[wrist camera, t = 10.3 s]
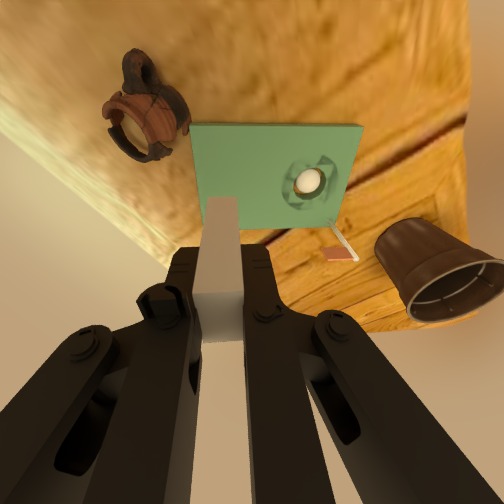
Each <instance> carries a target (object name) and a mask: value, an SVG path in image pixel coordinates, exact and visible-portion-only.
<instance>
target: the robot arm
mask: <svg viewBox="0 0 504 504" xmlns="http://www.w3.org/2000/svg"><path fill="white" fill-rule="evenodd" d="M170 265H171V266H170V267H169V271H168V274H167V277H166V280H165V282H164V283H158V284H156V285H153V286H151V287H149V288H147V289H146V290H145V291H144V292H143V293H141V294H140V296H139V297H138V299H137V300H136V303H137V305H138V307H139V309H140V311H141V313H142V315H143V317H144V320H142V321H140V322H138V323H136V324H133V325H131V326H128V327H124V328H122V329H118V330H115V331H112V332H111V331H110V329H109V328H108V327H106V326H103V325H91V326H88V327H85V328H82V329H80V330H78V331H76V332H75V333H73V334H71V335H70V336H69V337H68V338H67V339H66V340H65V341H63V342H62V343H61V344H60V345H59V346H58V348H57V349H56V350H55V351H54V352H53V353H52V354H51V355H50V357H49V358H48V359H47V360H46V361H45V363H43V365H42V366H41V367H40V368H39V369H38V370H37V371H36V372H35V374H34V375H33V376H32V377H31V378H30V379H29V381H28V382H27V383H26V384H25V385H24V386H23V387H22V389H20V391H19V392H18V393H17V394H16V395H15V396H14V397H13V398H12V400H11V401H10V402H9V403H8V404H7V405H6V406H5V408H4V409H3V410H2V411H1V412H0V504H190V494H191V483H192V471H193V459H194V448H195V436H196V426H197V414H198V403H199V391H200V380H201V369H202V354H201V342H202V340H203V343H212V342H226V341H240V340H243V341H244V367H245V384H246V402H247V420H248V439H249V455H250V456H249V457H250V474H251V493H252V504H336V503H335V499H334V495H333V491H332V487H331V483H330V479H329V475H328V471H327V467H326V463H325V459H324V455H323V451H322V447H321V443H320V439H319V435H318V431H317V428H316V423H315V419H314V415H313V411H312V407H311V403H310V400H309V395H308V392H307V388H308V390H309V392H310V394H311V396H312V398H313V400H314V402H315V404H316V406H317V408H318V411H319V413H320V415H321V416H322V419H323V421H324V423H325V425H326V427H327V429H328V431H329V433H330V435H331V438H332V440H333V442H334V444H335V446H336V448H337V450H338V452H339V454H340V456H341V458H342V461H343V462H344V465H345V467H346V469H347V471H348V473H349V475H350V477H351V479H352V481H353V483H354V485H355V488H356V490H357V492H358V494H359V496H360V498H361V500H362V502H363V504H504V503H503V502H502V500H501V499H500V498H499V497H498V495H497V494H496V493H495V492H494V491H493V489H492V488H491V487H490V486H489V484H488V483H487V482H486V481H485V479H484V478H483V477H482V476H481V475H480V473H479V472H478V471H477V470H476V468H475V467H474V466H473V465H472V463H471V462H470V461H469V460H468V458H467V457H466V456H465V455H464V453H463V452H462V451H461V450H460V449H459V447H458V446H457V445H456V444H455V443H454V441H453V440H452V439H451V437H450V436H449V435H448V434H447V432H446V431H445V430H444V429H443V427H442V426H441V425H440V424H439V423H438V421H437V420H436V419H435V418H434V416H433V415H432V414H431V413H430V412H429V410H428V409H427V408H426V407H425V405H424V404H423V403H422V402H421V400H420V399H419V398H418V397H417V395H416V394H415V393H414V392H413V390H412V389H411V388H410V387H409V386H408V384H407V383H406V382H405V381H404V379H403V378H402V377H401V376H400V375H399V373H398V372H397V371H396V369H395V368H394V367H393V366H392V365H391V363H390V362H389V361H388V360H387V358H386V357H385V356H384V355H383V353H382V352H381V351H380V350H379V349H378V347H377V346H376V345H375V344H374V342H373V341H372V340H371V339H370V337H369V336H368V335H367V334H366V332H365V331H364V330H363V329H362V327H361V326H360V325H359V324H358V323H357V322H356V321H355V320H354V319H353V318H352V317H351V316H350V315H348V314H346V313H344V312H342V311H338V310H325V311H323V312H321V313H319V314H318V316H317V317H314V316H310V315H306V314H301V313H298V312H295V311H293V310H291V309H289V308H288V307H287V306H286V305H285V304H284V303H283V302H282V301H281V299H280V296H279V293H278V289H277V284H276V280H275V276H274V272H273V268H272V263H271V259H270V255H269V251H268V250H267V249H266V247H265V246H264V245H263V244H241V245H240V233H239V220H238V207H237V197H208V200H207V206H206V212H205V218H204V224H203V230H202V237H201V243H200V247H180V249H179V250H178V251H177V252H176V253H175V254H174V255H173V258H172V261H171V264H170ZM305 383H306V384H305ZM306 386H307V387H306Z"/></svg>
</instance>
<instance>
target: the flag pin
mask: <svg viewBox="0 0 504 504" xmlns="http://www.w3.org/2000/svg"><path fill="white" fill-rule="evenodd" d="M327 222H328V224H329V225H330V227H331V228H332V230H333V231H334V233H335V234H336V236H337V237H338V238H339V240H340V241H341V243H342V244H343V246H344V247H328V248H321V250H322V252H323V254H324V256H325V258H326V260H327V261H335V260H354V261H355V262H357V261H359V257H358V256H357V255H356V253H355V252H354V250H353V249H352V248H351V246H350V245H349V244H348V242H347V241H346V240H345V238H344V237H343V235H342V234H341V233H340V231H339V230H338V229H337V227H336V226H335V224H334V223H333V222H332V220H331V219H330V218H329V219H327Z"/></svg>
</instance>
